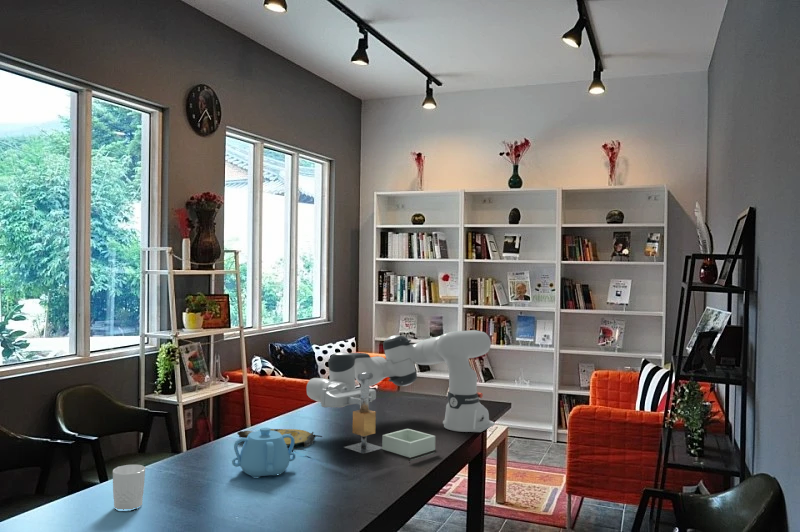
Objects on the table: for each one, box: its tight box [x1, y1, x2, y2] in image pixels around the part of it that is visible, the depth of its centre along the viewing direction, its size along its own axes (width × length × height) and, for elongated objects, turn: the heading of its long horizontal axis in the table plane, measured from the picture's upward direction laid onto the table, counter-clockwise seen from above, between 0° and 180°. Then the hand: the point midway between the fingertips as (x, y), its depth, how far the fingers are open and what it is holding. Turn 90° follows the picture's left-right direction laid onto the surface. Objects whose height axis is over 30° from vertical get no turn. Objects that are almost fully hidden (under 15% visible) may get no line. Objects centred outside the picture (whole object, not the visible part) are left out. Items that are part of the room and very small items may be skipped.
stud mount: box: [343, 435, 383, 455], centre depth 222 cm, size 10×10×8 cm
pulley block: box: [237, 428, 323, 451], centre depth 227 cm, size 14×6×30 cm
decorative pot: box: [231, 427, 297, 478], centre depth 197 cm, size 16×16×14 cm
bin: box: [381, 428, 436, 462], centre depth 221 cm, size 13×13×6 cm
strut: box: [351, 372, 377, 437], centre depth 222 cm, size 6×6×21 cm
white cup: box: [112, 464, 146, 510], centre depth 167 cm, size 8×8×10 cm
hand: (366, 401), depth 221 cm, fingers closed on strut, 3 cm apart
